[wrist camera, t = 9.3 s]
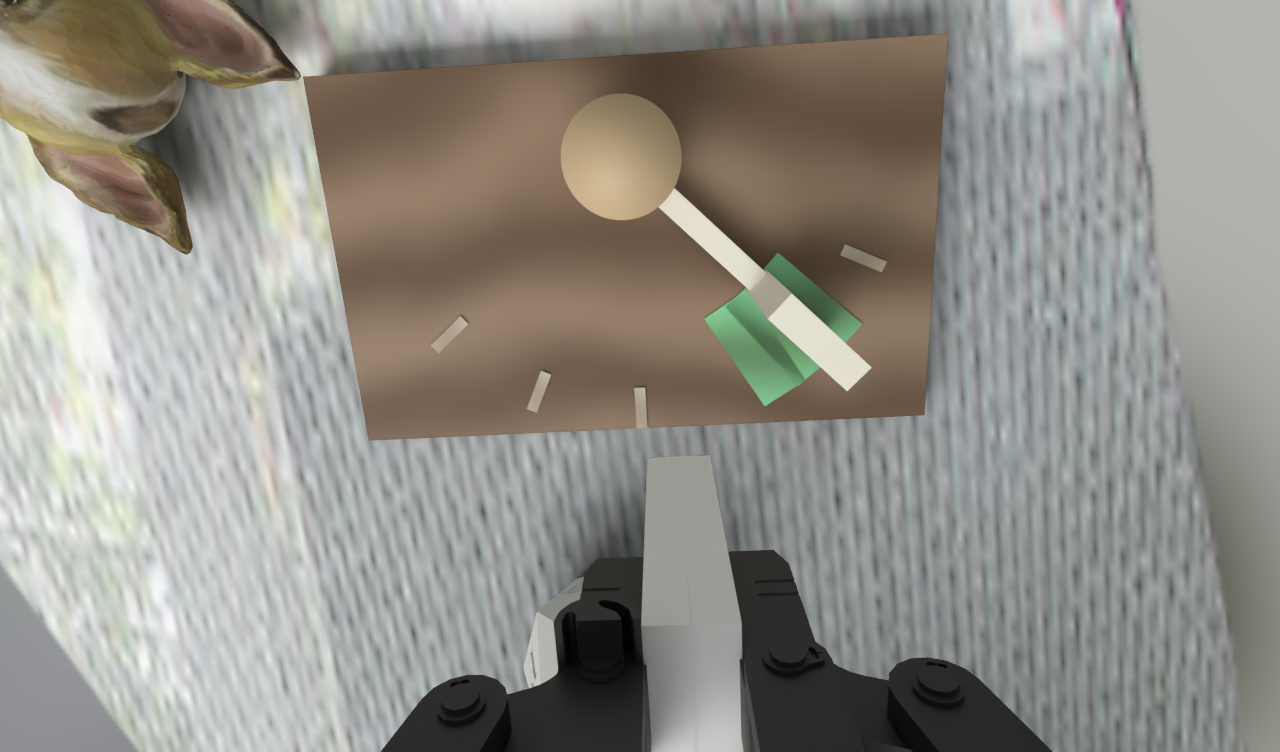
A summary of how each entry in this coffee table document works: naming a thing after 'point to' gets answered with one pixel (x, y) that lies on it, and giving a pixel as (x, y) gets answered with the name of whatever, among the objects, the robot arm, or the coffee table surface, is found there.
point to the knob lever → (680, 211)
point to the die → (547, 636)
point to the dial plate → (633, 239)
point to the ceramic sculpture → (122, 91)
